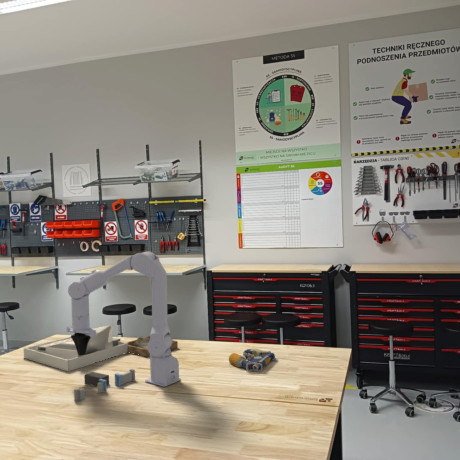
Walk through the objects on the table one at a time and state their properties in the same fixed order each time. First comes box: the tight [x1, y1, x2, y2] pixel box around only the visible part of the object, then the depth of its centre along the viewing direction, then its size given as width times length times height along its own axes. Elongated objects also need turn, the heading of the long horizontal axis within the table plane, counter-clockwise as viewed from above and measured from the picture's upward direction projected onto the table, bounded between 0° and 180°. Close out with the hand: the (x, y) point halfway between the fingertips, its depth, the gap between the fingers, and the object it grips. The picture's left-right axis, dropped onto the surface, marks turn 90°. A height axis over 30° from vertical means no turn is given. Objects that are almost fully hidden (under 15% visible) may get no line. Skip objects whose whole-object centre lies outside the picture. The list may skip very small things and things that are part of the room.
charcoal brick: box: [83, 371, 110, 387], centre depth 151 cm, size 8×3×3 cm, turn 59°
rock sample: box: [135, 336, 150, 349], centre depth 189 cm, size 10×8×9 cm
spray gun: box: [228, 348, 276, 372], centre depth 169 cm, size 21×4×15 cm
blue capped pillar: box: [73, 368, 136, 403], centre depth 145 cm, size 3×22×4 cm, turn 143°
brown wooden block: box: [126, 335, 179, 358], centre depth 191 cm, size 17×16×3 cm
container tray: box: [23, 336, 128, 372], centre depth 186 cm, size 31×28×4 cm
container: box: [36, 324, 121, 360], centre depth 186 cm, size 22×25×12 cm
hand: (81, 354), depth 156 cm, fingers closed
